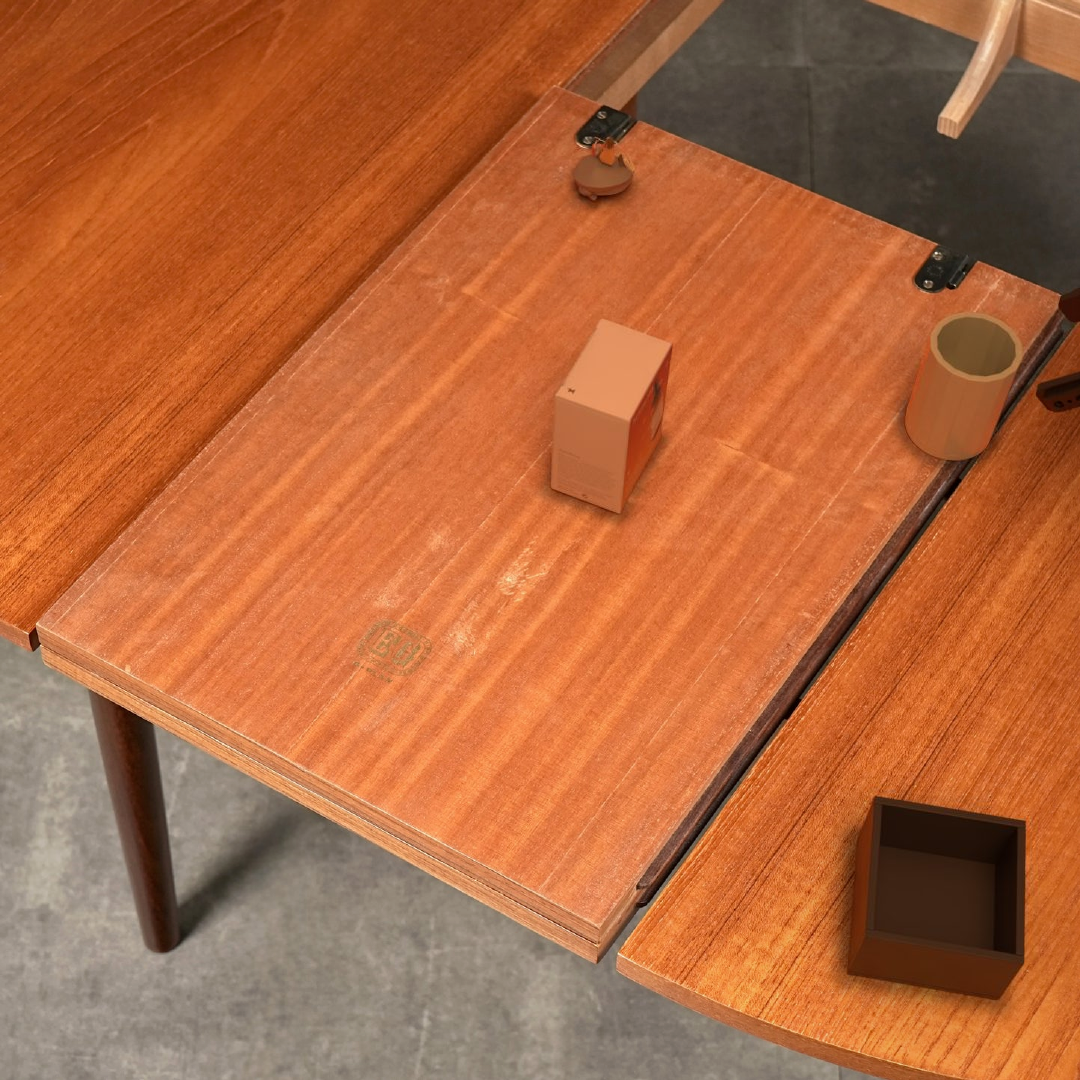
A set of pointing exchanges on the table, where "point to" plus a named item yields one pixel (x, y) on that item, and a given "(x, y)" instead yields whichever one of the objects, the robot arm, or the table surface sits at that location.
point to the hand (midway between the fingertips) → (1053, 354)
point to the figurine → (603, 171)
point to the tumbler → (962, 385)
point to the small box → (609, 415)
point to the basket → (939, 898)
